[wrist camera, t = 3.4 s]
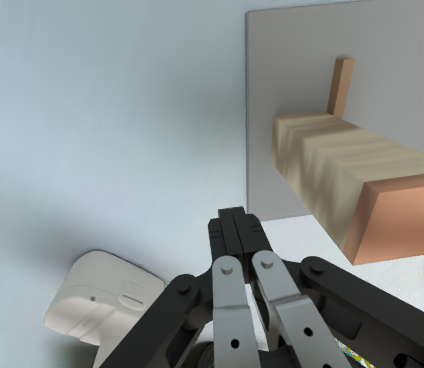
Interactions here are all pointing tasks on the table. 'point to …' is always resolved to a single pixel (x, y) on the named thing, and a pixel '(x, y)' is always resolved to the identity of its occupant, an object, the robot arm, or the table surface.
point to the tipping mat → (330, 81)
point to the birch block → (353, 184)
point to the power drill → (102, 301)
